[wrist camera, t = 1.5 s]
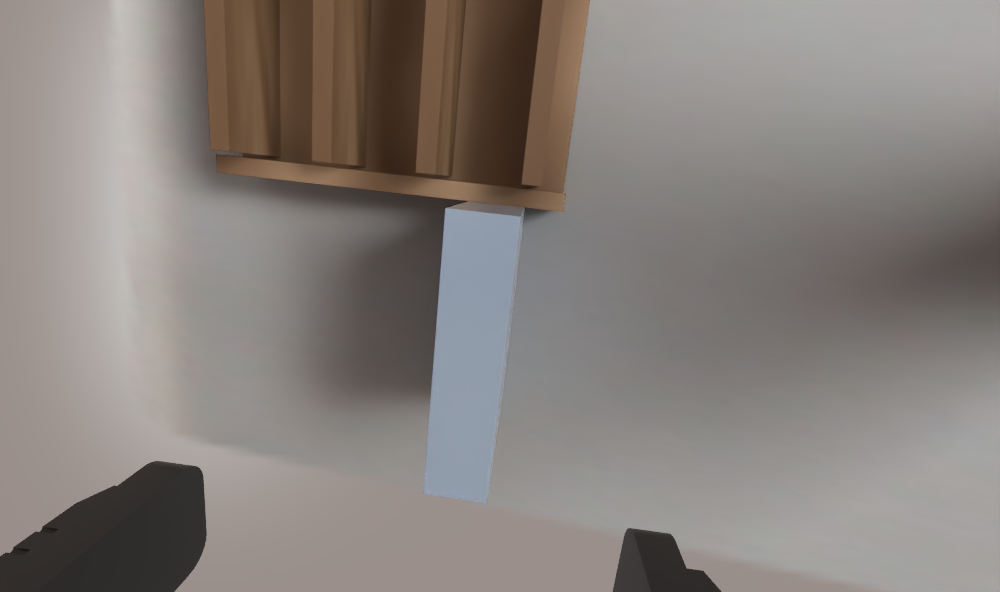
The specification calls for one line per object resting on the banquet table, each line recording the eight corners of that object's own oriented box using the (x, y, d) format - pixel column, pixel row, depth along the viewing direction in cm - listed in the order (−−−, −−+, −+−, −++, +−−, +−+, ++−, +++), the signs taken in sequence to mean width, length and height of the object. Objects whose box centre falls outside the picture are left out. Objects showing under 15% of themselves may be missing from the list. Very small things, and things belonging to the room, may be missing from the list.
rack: (607, -142, 20) (632, -252, 15) (559, 208, 24) (566, 215, 19) (249, -171, 21) (158, -285, 16) (257, 173, 24) (185, 171, 19)
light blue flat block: (525, 204, 24) (520, 216, 15) (502, 397, 26) (487, 503, 18) (477, 198, 24) (445, 208, 15) (459, 392, 27) (423, 494, 18)
